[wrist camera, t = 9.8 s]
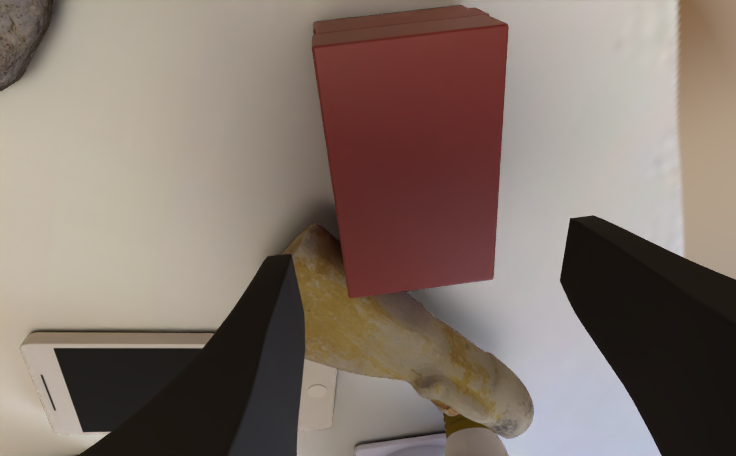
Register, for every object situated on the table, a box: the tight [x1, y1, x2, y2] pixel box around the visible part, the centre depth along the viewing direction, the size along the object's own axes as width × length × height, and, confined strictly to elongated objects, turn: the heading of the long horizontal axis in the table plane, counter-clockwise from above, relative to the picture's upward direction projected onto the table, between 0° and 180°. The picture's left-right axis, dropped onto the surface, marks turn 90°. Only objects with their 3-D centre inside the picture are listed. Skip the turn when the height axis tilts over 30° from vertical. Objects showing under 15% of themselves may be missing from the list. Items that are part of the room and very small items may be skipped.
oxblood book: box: [312, 15, 508, 298], centre depth 16 cm, size 9×6×2 cm, turn 5°
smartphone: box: [20, 332, 337, 435], centre depth 26 cm, size 7×15×1 cm, turn 84°
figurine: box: [281, 223, 534, 439], centre depth 22 cm, size 5×5×15 cm
